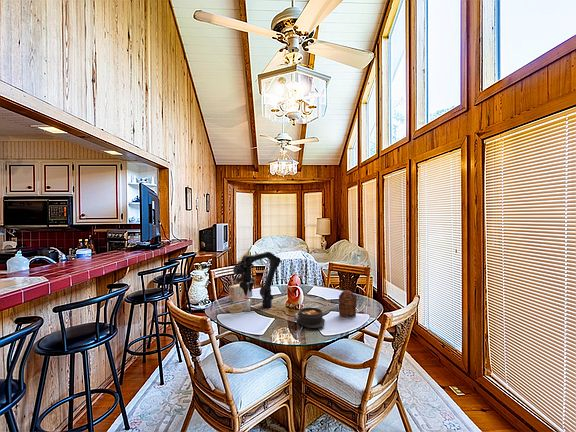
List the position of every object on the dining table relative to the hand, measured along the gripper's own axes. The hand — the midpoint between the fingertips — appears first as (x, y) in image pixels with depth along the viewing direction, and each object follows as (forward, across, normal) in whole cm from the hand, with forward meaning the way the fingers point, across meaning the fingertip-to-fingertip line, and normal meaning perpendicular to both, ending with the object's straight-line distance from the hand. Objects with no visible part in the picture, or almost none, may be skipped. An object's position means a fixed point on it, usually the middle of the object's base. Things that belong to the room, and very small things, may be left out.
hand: (247, 293), depth 228 cm
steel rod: (+13, 0, 0) cm, 13 cm away
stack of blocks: (+13, -30, -17) cm, 37 cm away
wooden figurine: (+13, -2, +72) cm, 74 cm away
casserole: (+13, +16, +49) cm, 53 cm away
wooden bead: (+13, +1, -10) cm, 16 cm away
